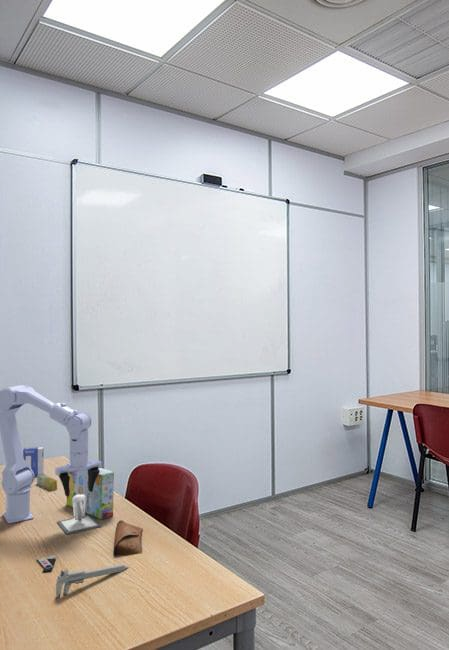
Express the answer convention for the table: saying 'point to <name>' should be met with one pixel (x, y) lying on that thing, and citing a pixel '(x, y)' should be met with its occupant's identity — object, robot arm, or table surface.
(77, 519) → the milkshake
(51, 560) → the usb flash drive
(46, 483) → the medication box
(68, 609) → the table surface
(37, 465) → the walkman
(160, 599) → the table surface
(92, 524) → the mat
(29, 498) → the robot arm
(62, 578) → the caliper
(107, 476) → the snack box
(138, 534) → the sunglasses case
